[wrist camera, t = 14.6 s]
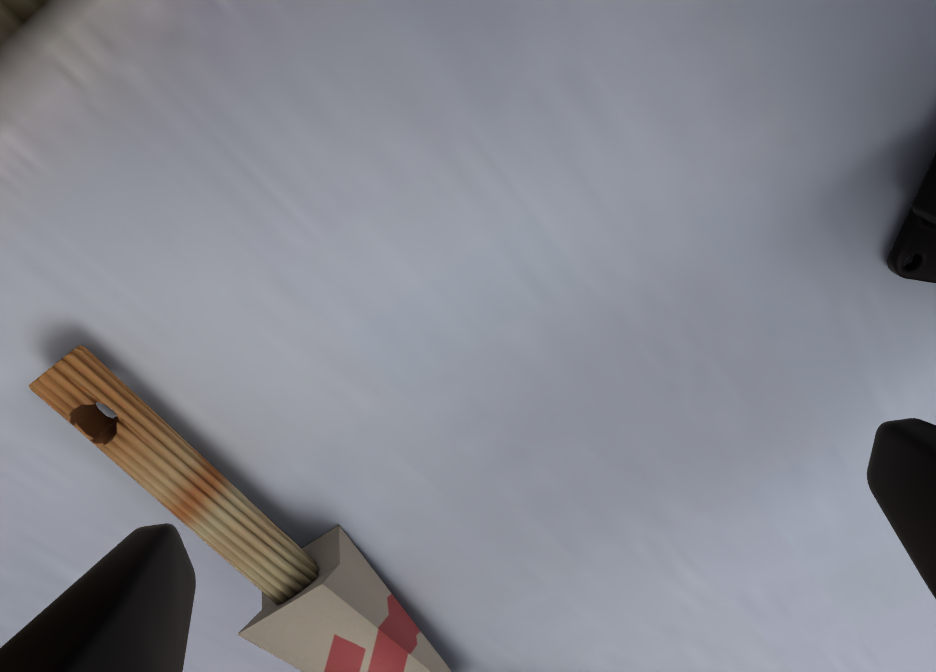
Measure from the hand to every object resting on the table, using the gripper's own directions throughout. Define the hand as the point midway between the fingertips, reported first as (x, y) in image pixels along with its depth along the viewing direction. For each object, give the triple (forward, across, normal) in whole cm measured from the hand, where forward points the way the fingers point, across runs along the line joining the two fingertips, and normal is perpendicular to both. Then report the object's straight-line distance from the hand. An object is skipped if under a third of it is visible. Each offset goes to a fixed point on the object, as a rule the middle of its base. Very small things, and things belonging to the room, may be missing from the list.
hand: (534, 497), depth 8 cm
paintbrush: (+12, +7, +12) cm, 18 cm away
